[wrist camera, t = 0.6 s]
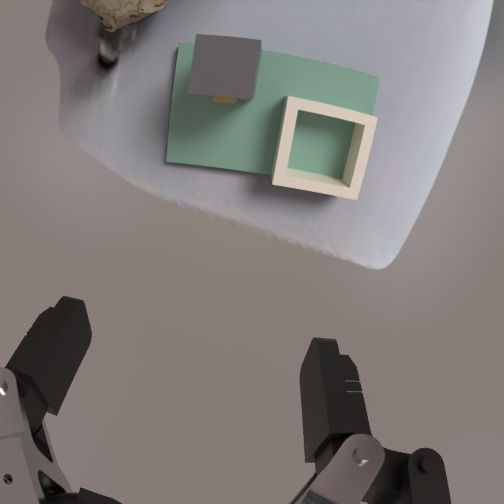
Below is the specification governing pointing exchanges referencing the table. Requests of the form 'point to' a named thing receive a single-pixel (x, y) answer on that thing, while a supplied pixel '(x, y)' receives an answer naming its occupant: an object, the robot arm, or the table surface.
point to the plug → (225, 67)
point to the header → (319, 182)
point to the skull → (123, 11)
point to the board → (268, 117)
